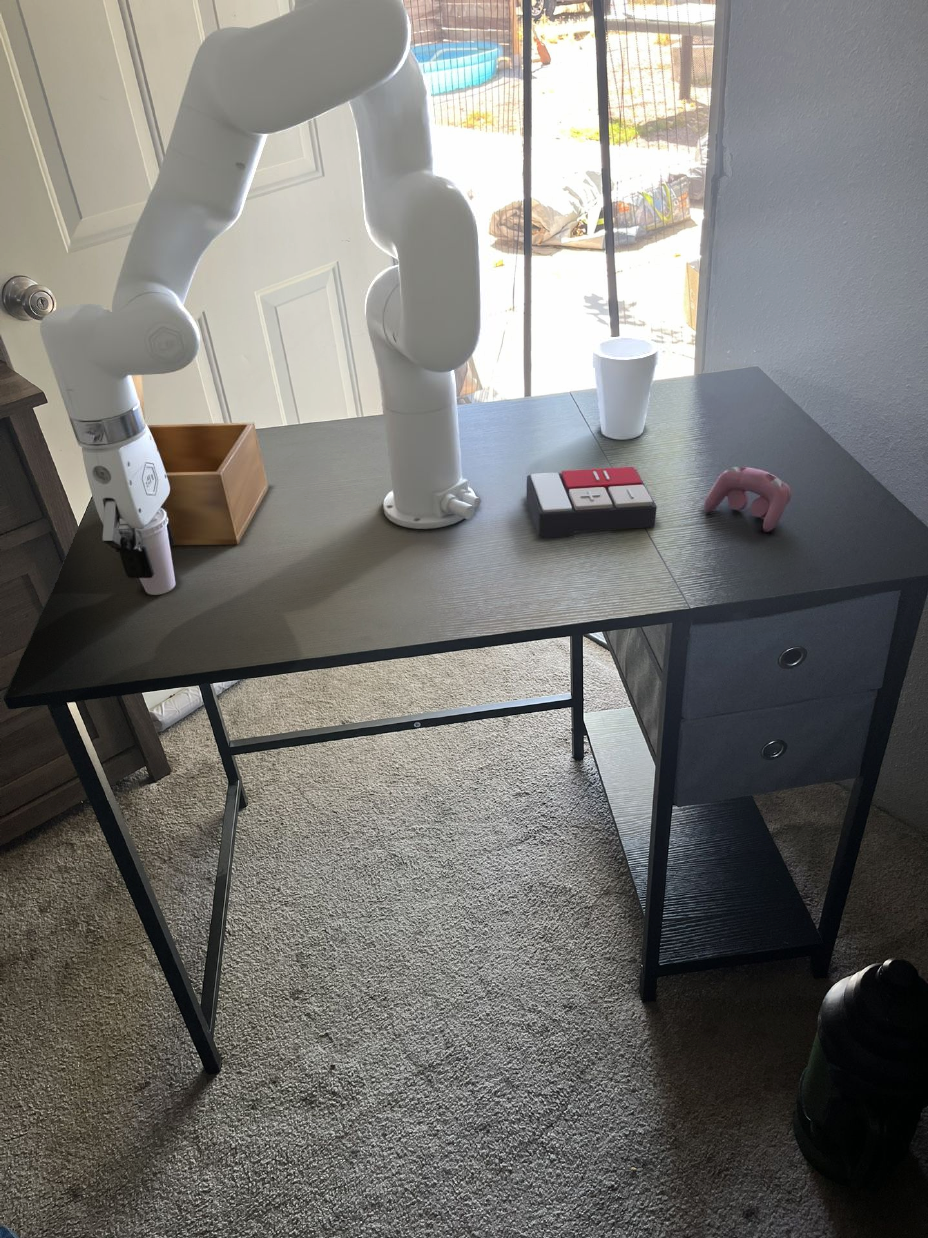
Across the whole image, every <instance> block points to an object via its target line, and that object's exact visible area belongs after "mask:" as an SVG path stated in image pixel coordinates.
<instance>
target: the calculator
mask: <svg viewBox="0 0 928 1238" xmlns="http://www.w3.org/2000/svg"><path fill="white" fill-rule="evenodd" d="M525 495H526V496H525V497H526V498H525V500H526V502H527V505H528V508H529V512H530V515H531V518H532V520H533V524H534V526H535V530H536V533H537V535H538V537H539V538H540V539H553V538H566V537H569V536H571V535H573V534H575V533H581V532H584V533H585V532H599V531H614V530H628V529H630V530H631V529H645V528H653V527H655V525H656V524H655V523H656V518H657V516H656V515H657V508H658V506H657V504H656V502H655V501H654V498H653V497H652V495H651V493H650V492H649V489H648V488H647V486H646V484H645V482H644V481H643V478H641V475H640V474H639V472H638V470H637V469H636V468H635V467H634V466H621V467H620V466H619V467H604V468H602V467H601V468H588V469H587V468H586V469H585V468H584V469H571V470H569V469H568V470H561V472H559V473H558V472H543V473H542V472H540V473H531V474H528V475H527V476H526V493H525Z"/></svg>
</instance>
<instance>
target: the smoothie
mask: <svg viewBox="0 0 928 1238" xmlns="http://www.w3.org/2000/svg"><path fill="white" fill-rule="evenodd" d="M120 524H128V523H127V522H126V521H125V520H124V519H120ZM167 524H168V518H167V515H166V512H165V511H164V510H163V509H162V508H160V509H159V510H158V511H157V513H156V514H155V515H154V517H153V518H152V519H151V521H150V522H149V523H148V524H147V526H145V527H144V528H142V529H140V533H141V542H142V547H146V549H147V552H148V555H149V558H150V562H151V565H152V568H153V571H154V575H153V577H152V578H138V579H139V581H140V583H141V585H142V587H143V589H144V590H145V593H147V594H148V595H153V596H158V595H163V594H166V593H168V592H170V591H172V590H173V589H174V588H175V587H176V577H175V571H174V565H173V558H172V551H171V546H170V544H169V538H168V531H167ZM122 535H123V537H128V538H130V539H131V540H132V533H131V530H122Z"/></svg>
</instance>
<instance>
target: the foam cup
mask: <svg viewBox="0 0 928 1238" xmlns="http://www.w3.org/2000/svg"><path fill="white" fill-rule="evenodd" d="M591 352H592V356H591V357H592V358H591V362H592V363H591V364H592V368H593V370H594V377H595V387H596V394H597V405H598V413H599V421H600V422H599V423H600V428H601V434H602V435H603V436H605V437H606V438H610V439H613V440H630V439H635V438H637V437H639V436H641V435H642V433H643V432H644V428H645V423H646V419H647V413H648V408H649V402H650V398H651V392H652V388H653V381H654V377H655V372H656V368H657V366H658V360H659V359H658V358H659V347H658V344H657V343H656V342H655V341H653V340H651V339H649V338H644V337H640V336H639V337H638V336H616V337H608V338H605V339H602V340H599V341H597V342H596V343H595V344H594V345H592V351H591Z"/></svg>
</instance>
